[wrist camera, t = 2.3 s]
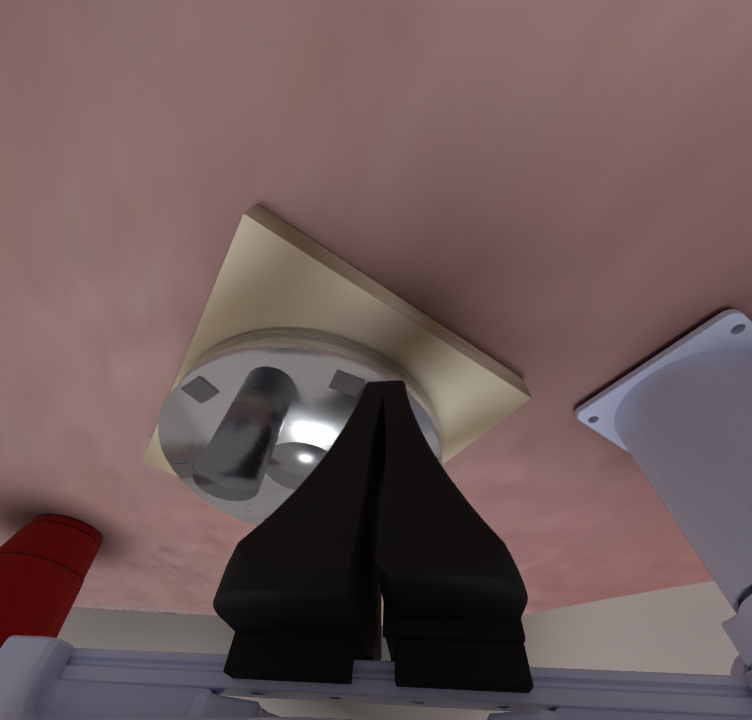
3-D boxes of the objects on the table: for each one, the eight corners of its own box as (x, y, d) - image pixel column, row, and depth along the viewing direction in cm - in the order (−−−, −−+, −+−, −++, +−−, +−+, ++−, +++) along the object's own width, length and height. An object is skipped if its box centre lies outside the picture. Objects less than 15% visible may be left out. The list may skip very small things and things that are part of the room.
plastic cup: (159, 550, 32) (56, 737, 23) (80, 563, 35) (-40, 733, 26) (59, 486, 27) (-135, 701, 17) (-26, 508, 29) (-233, 702, 20)
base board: (522, 378, 18) (533, 401, 16) (345, 518, 27) (342, 540, 26) (257, 203, 13) (240, 214, 12) (154, 443, 23) (139, 464, 21)
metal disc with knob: (438, 506, 22) (450, 629, 17) (234, 507, 24) (187, 620, 18) (439, 318, 14) (463, 444, 9) (126, 338, 15) (-14, 455, 10)
